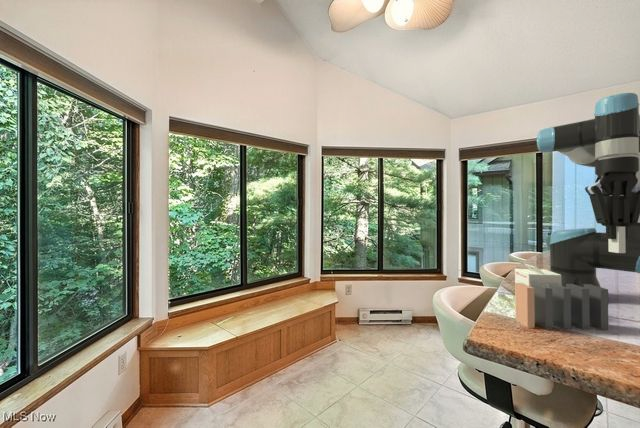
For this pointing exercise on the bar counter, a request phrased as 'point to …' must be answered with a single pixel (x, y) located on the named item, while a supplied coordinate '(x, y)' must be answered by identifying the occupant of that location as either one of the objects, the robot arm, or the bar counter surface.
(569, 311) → the domino
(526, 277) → the ink box
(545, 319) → the domino
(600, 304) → the domino
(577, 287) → the domino
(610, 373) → the bar counter surface
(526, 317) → the domino
